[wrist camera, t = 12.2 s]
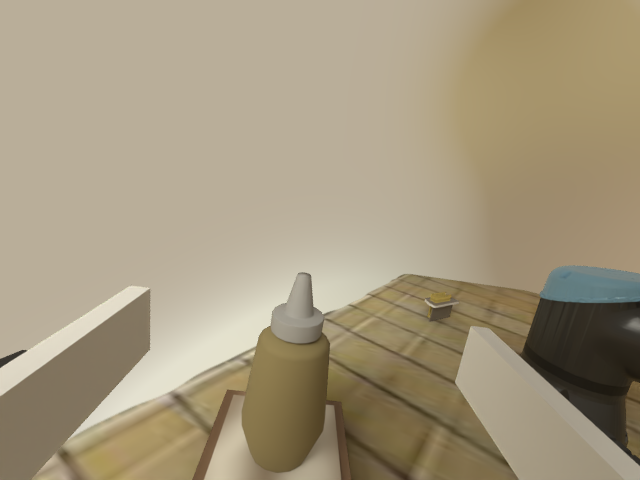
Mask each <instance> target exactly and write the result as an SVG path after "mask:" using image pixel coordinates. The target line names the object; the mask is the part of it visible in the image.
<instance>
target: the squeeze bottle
mask: <svg viewBox="0 0 640 480" xmlns="http://www.w3.org/2000/svg"><path fill="white" fill-rule="evenodd" d="M323 322H324V316H323V314H322V312H321V311H319V310H318V309H317V308H315V307H313V296H312V283H311V275H310V274H307V273H298V275H297V277H296V280H295V282H294V285H293V288H292V291H291V293H290V296H289V299H288V301H287V303H285V304H281V305H279V306H277V307H275V309H274V310H273V311H272V319H271V326H269V327H267V328H265V329H264V330H263V331H262V332H261V334H260V336H259V339H258V343H257V347H256V351H255V355H254V360H253V364H252V368H251V373H250V377H249V381H248V386H247V390H246V394H245V399H244V403H243V407H242V428H243V431H244V434H245V438H246V441H247V444H248V448H249V451H250V453H251V455H252V457H253V459H254V461H255V463H257V464H258V465H259V466H261V467H262V468H263V469H264V470H268V471H271V472H275V473H281V472H289V471H291V470H293V469H295V468H296V467H298V466H300V465H301V464H302V462H303V461H304V460H305V458H306V457H307V455H308V454H309V452H310V451H311V449H312V448H313V446H314V444H315V443H316V441H317V440H318V438H319V437H320V435H321V434H322V432H323V428H324V422H325V411H326V396H327V380H328V365H329V350H330V343H329V341H328V339H327V337H326V336H325V335H324V334H323V333H322V328H323Z"/></svg>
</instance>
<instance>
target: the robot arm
mask: <svg viewBox="0 0 640 480" xmlns="http://www.w3.org/2000/svg"><path fill="white" fill-rule="evenodd" d="M540 297H541V299H540V302H539V305H538V308H537V311H536V314H535V316H534V319H533V322H532V325H531V328H530V331H529V334H528V337H527V340H526V343H525V346H524V349H523V351H522V353H521V354H520V355H518V354H516V353H515V352H514V351H513V350H512V349H511V348H510V347H509V346H508V345H507V344H505V343H504V342H503V341H502V340H501V339H500V338H499V337H498V336H497V335H496V334H495V333H493V332H492V331H491V330H490V329H489V328H484V327H475V326H471V327H470V331H469V335H468V338H467V342H466V345H465V349H464V353H463V356H462V360H461V363H460V367H459V370H458V374H457V378H456V381H455V383H456V385H457V386H458V388H459V389H460V391H461V392H462V394H463V395H464V397H465V398H466V400H467V401H468V403H469V405H470V406H471V408H472V409H473V411H474V412H475V414H476V415H477V417H478V418H479V420H480V421H481V423H482V424H483V426H484V427H485V429H486V430H487V432H488V433H489V435H490V436H491V438H492V439H493V441H494V443H495V444H496V446H497V447H498V449H499V450H500V452H501V453H502V455H503V456H504V458H505V459H506V461H507V462H508V464H509V465H510V467H511V468H512V470H513V471H514V473H515V474H516V476H517V477H518V479H519V480H640V459H639V458H638V457H637V456H635V455H632V454H631V451H630V450H629V449H628V448H626V447H627V444H628V438H627V432H626V407H625V398H626V395H627V392H628V390H629V388H630V385H631V383H632V381H636V382H639V383H640V274H638V273H633V272H627V271H621V270H614V269H606V268H597V267H588V266H562V267H558V268H556V269H554V270H553V271H552V272H551V273H550V274H549V277H548V279H547V281H546V284H545V286H544V289H543V291H541V292H540ZM149 350H150V288H144V287H136V286H129V287H128V288H126V289H125V290H123V291H121V292H120V293H118V294H117V295H115V296H113V297H112V298H110V299H109V300H107V301H106V302H104V303H102V304H101V305H99V306H98V307H96V308H94V309H93V310H91V311H90V312H88V313H87V314H85V315H84V316H82V317H80V318H79V319H77V320H75V321H74V322H72V323H71V324H69V325H68V326H66V327H64V328H63V329H61V330H60V331H58V332H56V333H55V334H53V335H52V336H50V337H49V338H47V339H45V340H44V341H42V342H41V343H39V344H37V345H36V346H34V347H33V348H31V349H30V350H28V351H27V350H21V351H19V352H16V353H14V354H12V355H9V356H6V357H4V358H2V359H0V480H31V479H32V478H33V477H34V475H35V474H36V473H37V472H38V471H39V470H40V469H41V468H42V467H43V466H44V465H45V463H46V462H47V461H48V460H49V459H50V458H51V457H52V456H53V455H54V454H55V452H56V451H57V450H58V449H59V448H60V447H61V446H62V445H63V444H64V443H65V442H66V440H67V439H68V438H69V437H70V436H71V435H72V434H73V433H74V432H75V431H76V429H77V428H78V427H79V426H80V425H81V424H82V423H83V422H84V421H85V419H87V418H88V416H89V415H90V414H91V413H92V412H93V411H94V410H95V409H96V408H97V406H98V405H99V404H100V403H101V402H102V401H103V400H104V399H105V398H106V397H107V396H108V395H109V393H110V392H111V391H112V390H113V389H114V388H115V387H116V386H117V385H118V384H119V382H120V381H121V380H122V379H123V378H124V377H125V376H126V375H127V374H128V373H129V372H130V371H131V370H132V368H133V367H134V366H135V365H136V364H137V363H138V362H139V361H140V360H141V358H142V357H143V356H144V355H145V354H146V353H147V352H148V351H149Z"/></svg>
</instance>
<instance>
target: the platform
mask: <svg viewBox="0 0 640 480" xmlns="http://www.w3.org/2000/svg"><path fill="white" fill-rule="evenodd" d="M445 293H446V292H442V293H435V294H431V297H430V298H426V299H425V302H426V303H427V304H428V305H429V306H430V308H429V312H428V316H427V317H428V318H430V319H429V322H430V321H434V320H439V319H443V318H447V317H449V316H450V313H451V309H452V305H454V304H458V303H459V301H458V300H456V299H453V298H451V294H450V295H447V296H445ZM430 314H431V315H430Z"/></svg>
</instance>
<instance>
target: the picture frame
mask: <svg viewBox="0 0 640 480" xmlns="http://www.w3.org/2000/svg"><path fill="white" fill-rule="evenodd" d="M245 394H246V392H244V391H235V390H227V392H226V394H225V397H224V399H223V402H222V405H221V407H220V410H219V412H218V415H217V418H216V420H215V423H214V425H213V428H212V430H211V433H210V436H209V438H208V441H207V443H206V446H205V448H204V451H203V454H202V456H201V459H200V461H199V464H198V467H197V469H196V472H195V474H194V477H193V479H192V480H351V474H350V467H349V459H348V451H347V444H346V436H345V428H344V421H343V413H342V405H341V402H337V401H328V400H326V411H325V422H324V428H323V432H322V434H321V435H320V437H319V438H318V440H317V441H316V443H315V444H314V446H313V448H312V449H311V451H310V452H309V454H308V455H307V457H306V458H305V460H304V461H303V462H302V464H301V465H300V466H298V467H296V468H295V469H293V470H291V471H289V472H281V473H275V472H271V471H268V470H264V469H263V468H262V467H261V466H259V465H258V464H257V463H255V461H254V459H253V457H252V455H251V453H250V451H249V448H248V444H247V441H246V438H245V434H244V431H243V428H242V407H243V403H244V399H245Z"/></svg>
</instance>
